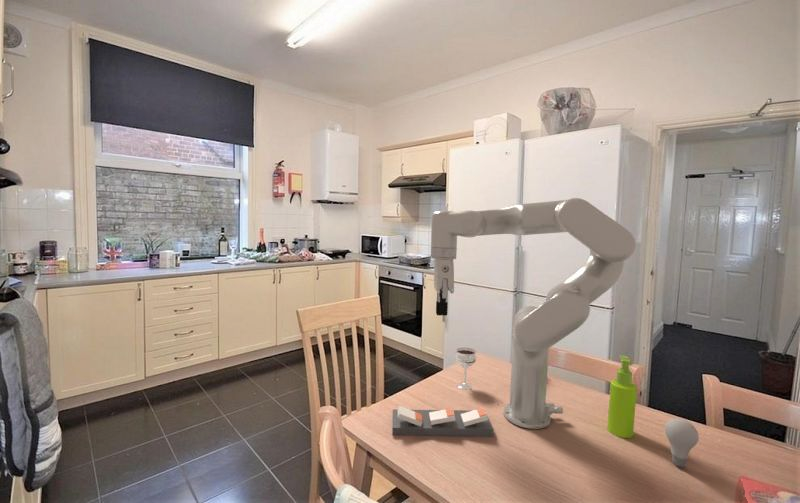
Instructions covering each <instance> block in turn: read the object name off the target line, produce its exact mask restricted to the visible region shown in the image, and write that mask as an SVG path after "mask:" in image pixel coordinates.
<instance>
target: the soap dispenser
mask: <svg viewBox="0 0 800 503" xmlns="http://www.w3.org/2000/svg"><path fill="white" fill-rule="evenodd" d="M619 358H620V360H621V364H620V365H621V368H618V369H616V370H617V371H616V379H611V381H610V387H609V388H610V390H609V403H608V416H607V431H608V432H610V433H611V434H612V435H614V436H615V437H618V438H623V439H624V438H625V439H629V438H633V436H634V427H635V426H634V425H635V415H636V402H637V391H638V387H637V385H636V384H635V383H633V382H632V380H633V372H632V371H630V365H631V359H630V357H629V356H628V355H623V354H619Z"/></svg>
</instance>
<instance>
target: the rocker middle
mask: <svg viewBox="0 0 800 503" xmlns="http://www.w3.org/2000/svg"><path fill="white" fill-rule="evenodd" d="M439 410H440V411H434V412H429V415H430V421H431V425H434V424H440V423H445V422H450V421H455V415H454V412H453V410H454V409H453V407H449V408H446V409H439Z"/></svg>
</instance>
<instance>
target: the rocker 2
mask: <svg viewBox="0 0 800 503" xmlns="http://www.w3.org/2000/svg"><path fill="white" fill-rule="evenodd" d="M469 411H470V412H466V413H463V414H461V417H462V420H463V423H464V426H468V425H472V424H475V423H479V422H482V421H486V420H488V418H489V416H488V413H487V411H486V410H485V408H484V407H480V408H476V409H474V410H469ZM487 416H488V417H487Z"/></svg>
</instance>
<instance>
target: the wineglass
mask: <svg viewBox="0 0 800 503" xmlns="http://www.w3.org/2000/svg"><path fill="white" fill-rule="evenodd" d="M455 351H456V353H455V360H456V362H457V363H458V364H459V365H460V366H462V368H463V375H464V376H463V382H458V383H457V384H456V386H457V388H459V389H461V390H470V389H472V388H473V386H472V384H470V383H468V382H466V381H467V380H466V379H467V369H468V368H469V367H472V366H473V365H474V364H475V363H476V360H477V356H476V354H477V350H475V349H473V348H471V347H458V348H456V349H455Z"/></svg>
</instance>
